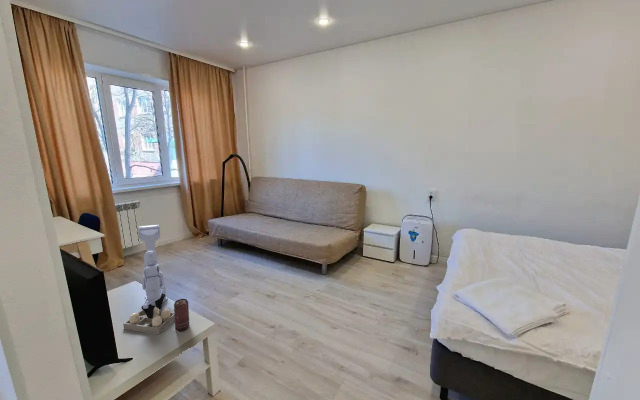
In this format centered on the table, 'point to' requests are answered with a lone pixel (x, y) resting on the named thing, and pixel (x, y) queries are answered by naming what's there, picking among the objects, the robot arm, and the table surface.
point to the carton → (148, 323)
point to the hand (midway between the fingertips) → (154, 313)
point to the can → (181, 315)
